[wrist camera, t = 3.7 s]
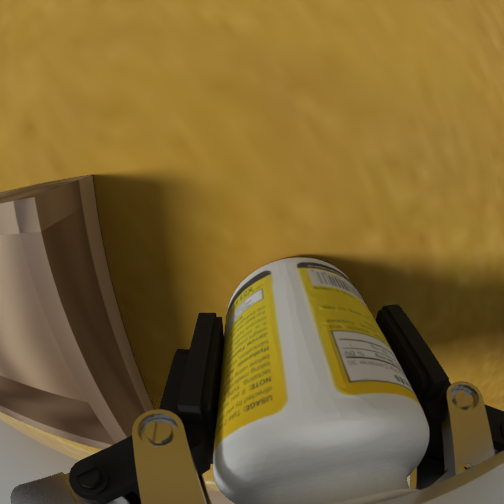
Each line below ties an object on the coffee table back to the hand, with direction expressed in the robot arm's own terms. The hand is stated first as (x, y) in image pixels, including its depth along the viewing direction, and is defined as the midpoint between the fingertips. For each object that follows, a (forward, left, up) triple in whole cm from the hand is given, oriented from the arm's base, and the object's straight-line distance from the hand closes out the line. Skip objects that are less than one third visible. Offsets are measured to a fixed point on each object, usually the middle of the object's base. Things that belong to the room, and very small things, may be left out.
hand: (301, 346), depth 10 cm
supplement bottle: (0, 0, -2) cm, 2 cm away
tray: (+17, 0, -2) cm, 18 cm away
